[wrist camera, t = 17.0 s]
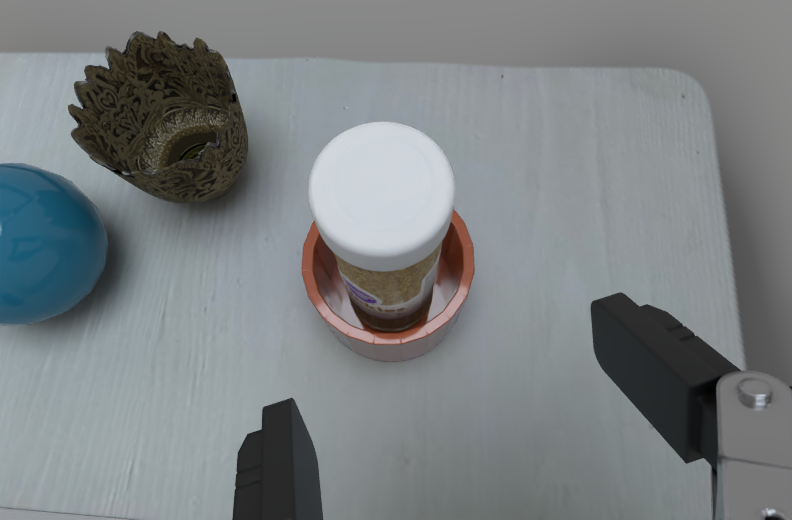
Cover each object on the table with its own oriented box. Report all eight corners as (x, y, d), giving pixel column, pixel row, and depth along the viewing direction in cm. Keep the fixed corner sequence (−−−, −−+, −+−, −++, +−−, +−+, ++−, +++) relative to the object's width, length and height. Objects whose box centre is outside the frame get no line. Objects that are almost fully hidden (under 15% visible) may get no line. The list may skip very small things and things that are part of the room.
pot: (434, 211, 31) (440, 160, 25) (481, 336, 29) (499, 312, 23) (306, 250, 30) (283, 207, 25) (344, 381, 28) (328, 368, 22)
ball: (-7, 354, 29) (-155, 327, 21) (-7, 219, 31) (-140, 151, 24) (142, 320, 29) (49, 281, 22) (131, 189, 32) (43, 113, 24)
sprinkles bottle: (337, 317, 29) (280, 225, 16) (367, 241, 30) (337, 98, 17) (418, 346, 28) (428, 275, 15) (446, 267, 29) (476, 139, 16)
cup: (292, 140, 32) (257, 51, 25) (244, 251, 30) (190, 190, 23) (180, 108, 33) (113, 12, 26) (126, 214, 31) (35, 143, 24)
